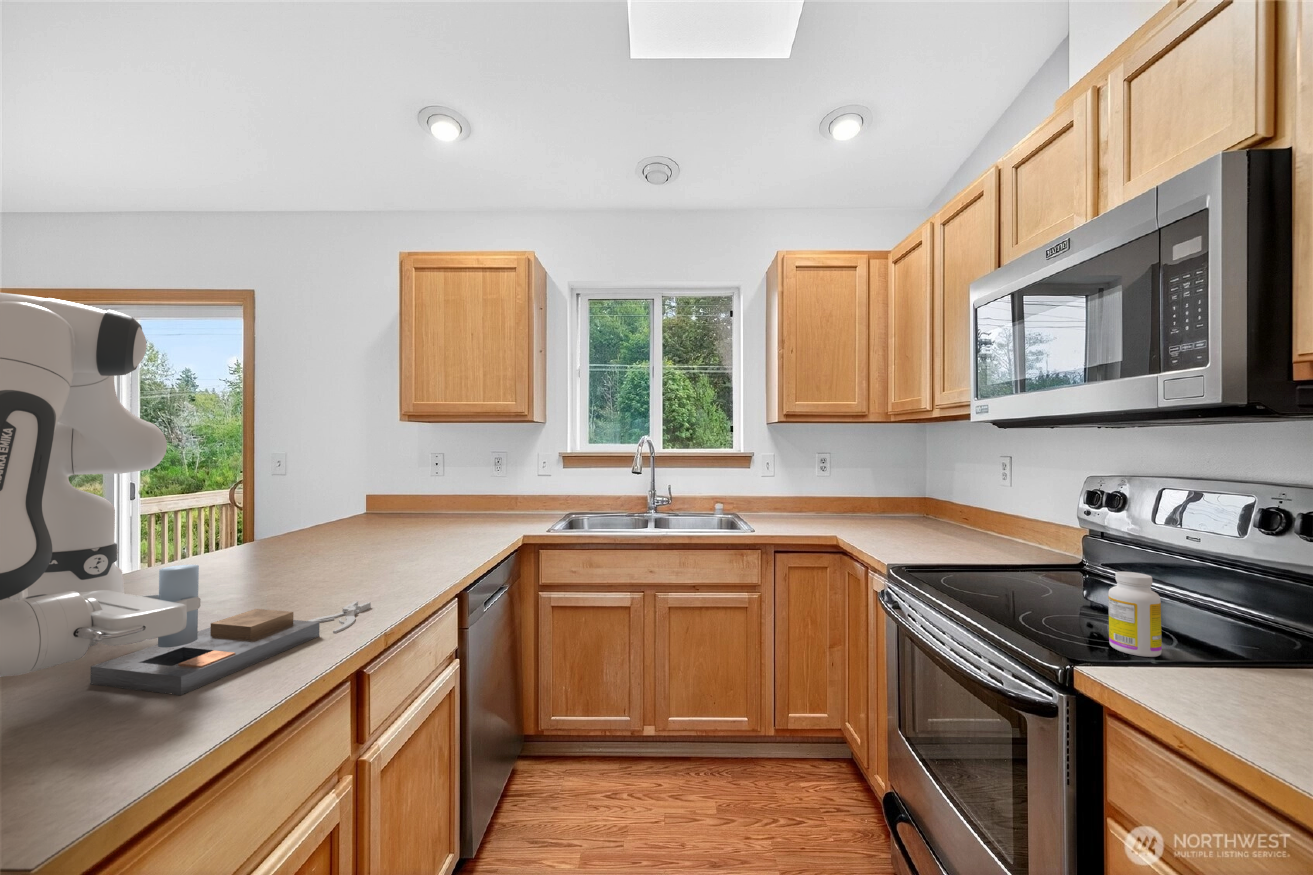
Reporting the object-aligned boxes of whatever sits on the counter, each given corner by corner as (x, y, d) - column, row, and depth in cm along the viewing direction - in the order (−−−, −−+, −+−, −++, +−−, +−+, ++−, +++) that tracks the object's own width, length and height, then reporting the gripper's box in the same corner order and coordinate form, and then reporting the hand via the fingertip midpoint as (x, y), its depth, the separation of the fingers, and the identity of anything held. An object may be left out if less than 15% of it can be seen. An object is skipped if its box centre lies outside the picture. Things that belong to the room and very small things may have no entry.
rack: (90, 684, 76) (90, 652, 76) (245, 629, 98) (245, 604, 98) (180, 695, 73) (181, 661, 73) (319, 636, 95) (319, 610, 95)
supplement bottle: (1151, 647, 92) (1151, 572, 92) (1169, 661, 86) (1168, 581, 86) (1103, 641, 95) (1102, 568, 95) (1116, 654, 89) (1115, 576, 89)
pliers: (285, 624, 98) (341, 600, 113) (285, 633, 98) (341, 608, 113) (336, 626, 97) (385, 602, 112) (336, 635, 97) (385, 609, 112)
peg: (149, 646, 78) (151, 570, 78) (181, 635, 82) (183, 563, 82) (173, 648, 77) (175, 571, 77) (205, 637, 81) (206, 565, 81)
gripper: (101, 613, 64) (230, 585, 77) (17, 595, 71) (147, 572, 84) (100, 666, 64) (229, 630, 77) (16, 643, 71) (146, 613, 84)
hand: (185, 599), depth 80 cm, fingers closed on peg, 4 cm apart
